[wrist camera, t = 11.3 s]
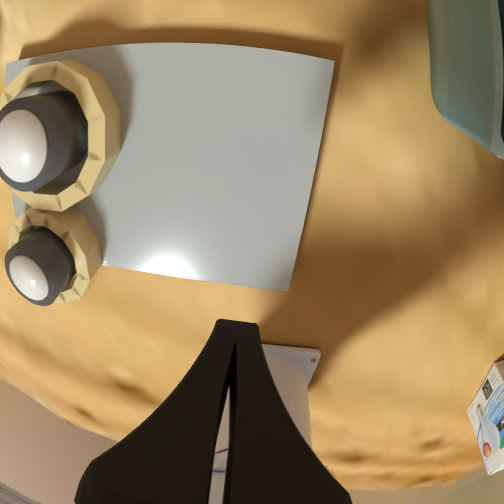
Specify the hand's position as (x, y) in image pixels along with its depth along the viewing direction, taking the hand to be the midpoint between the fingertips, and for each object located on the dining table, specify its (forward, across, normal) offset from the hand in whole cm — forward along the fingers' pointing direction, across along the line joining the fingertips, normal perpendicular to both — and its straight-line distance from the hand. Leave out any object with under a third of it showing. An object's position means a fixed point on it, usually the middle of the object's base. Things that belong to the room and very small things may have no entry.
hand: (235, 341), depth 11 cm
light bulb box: (+10, -33, +16) cm, 38 cm away
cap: (+9, +12, -5) cm, 16 cm away
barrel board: (+10, +7, -2) cm, 12 cm away
